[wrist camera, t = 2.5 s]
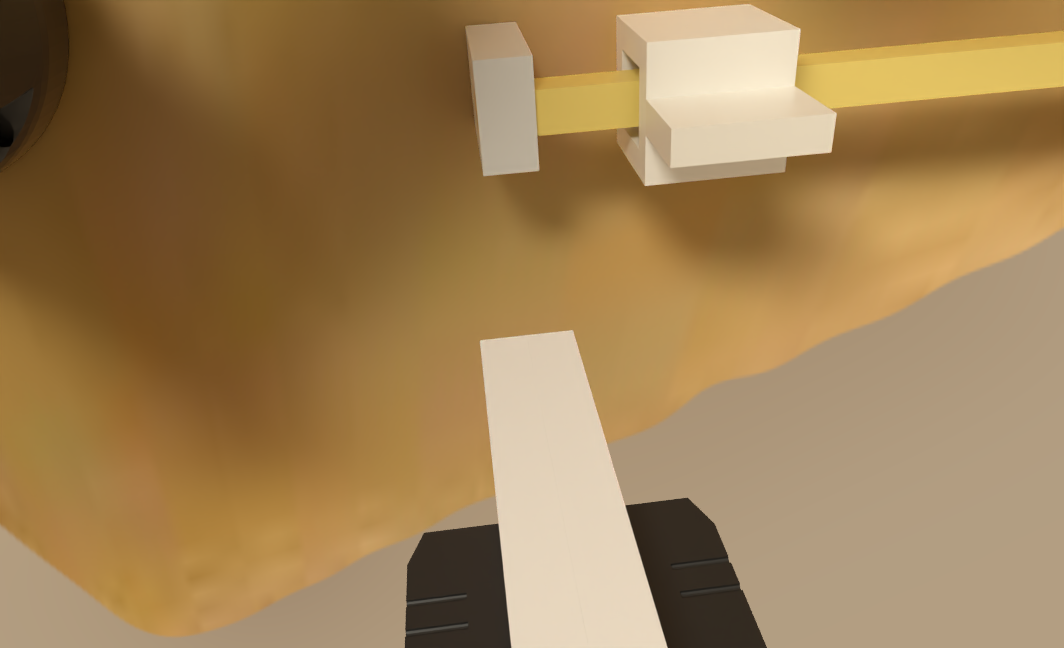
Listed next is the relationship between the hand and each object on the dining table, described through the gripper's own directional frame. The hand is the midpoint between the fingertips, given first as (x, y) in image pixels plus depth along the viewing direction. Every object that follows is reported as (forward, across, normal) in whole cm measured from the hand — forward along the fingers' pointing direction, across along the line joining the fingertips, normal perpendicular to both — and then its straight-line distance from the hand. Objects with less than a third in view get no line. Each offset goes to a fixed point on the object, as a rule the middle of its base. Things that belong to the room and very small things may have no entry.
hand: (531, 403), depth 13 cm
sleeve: (+20, +8, 0) cm, 21 cm away
